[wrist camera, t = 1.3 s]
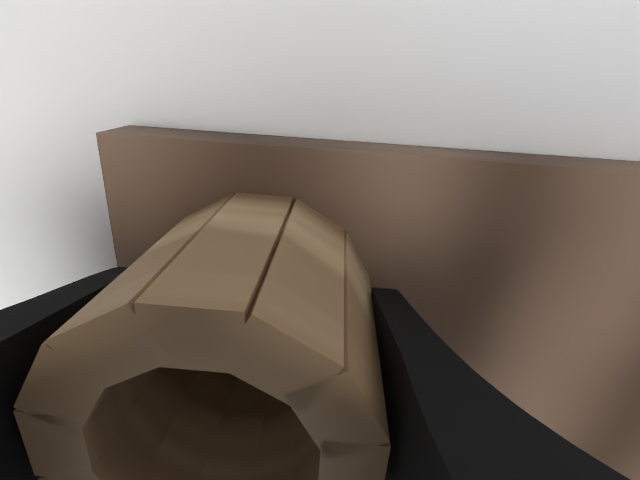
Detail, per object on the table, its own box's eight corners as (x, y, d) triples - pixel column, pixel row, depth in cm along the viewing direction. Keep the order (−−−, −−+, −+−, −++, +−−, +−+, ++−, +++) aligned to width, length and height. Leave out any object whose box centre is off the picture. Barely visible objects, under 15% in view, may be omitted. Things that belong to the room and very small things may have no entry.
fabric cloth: (816, 174, 10) (891, 190, 9) (585, 577, 17) (606, 622, 16) (128, 125, 10) (95, 132, 9) (181, 536, 18) (167, 575, 16)
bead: (379, 203, 9) (413, 326, 5) (356, 382, 12) (365, 585, 7) (151, 186, 10) (-28, 289, 5) (171, 366, 12) (60, 553, 7)
